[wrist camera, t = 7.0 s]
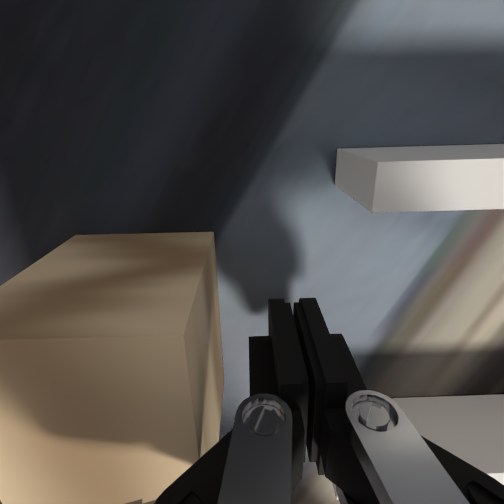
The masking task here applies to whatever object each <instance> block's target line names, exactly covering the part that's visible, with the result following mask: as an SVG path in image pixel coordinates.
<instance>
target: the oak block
mask: <svg viewBox="0 0 504 504" xmlns="http://www.w3.org/2000/svg"><path fill="white" fill-rule="evenodd" d="M223 386H224V372H223V357H222V343H221V329H220V314H219V300H218V286H217V272H216V257H215V243H214V232H180V233H138V234H96V235H75V236H73V237H72V238H70V239H69V240H67V241H66V242H64V243H63V244H61V245H60V246H59V247H57V248H56V249H54V250H53V251H51V252H50V253H48V254H47V255H45V256H44V257H42V258H41V259H39V260H38V261H36V262H35V263H34V264H32V265H31V266H29V267H28V268H26V269H25V270H23V271H22V272H20V273H19V274H17V275H16V276H14V277H13V278H11V279H10V280H9V281H7V282H6V283H4V284H3V285H1V286H0V500H1V502H2V504H126V503H129V502H133V501H136V500H140V499H143V503H146V502H150V501H153V500H157V498H158V497H159V496H160V495H161V493H162V492H163V491H164V490H165V489H166V488H167V487H168V486H169V485H171V484H172V483H173V482H174V481H175V480H176V479H177V478H178V477H179V476H181V475H182V474H183V473H184V472H185V471H186V470H187V469H188V468H190V467H191V466H192V465H193V464H194V463H195V462H196V461H197V460H198V459H200V458H201V457H202V456H203V455H204V454H205V453H206V452H207V451H208V450H210V449H211V448H212V447H213V446H214V445H215V444H216V443H217V442H219V432H220V421H221V409H222V398H223Z"/></svg>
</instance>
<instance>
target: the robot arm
mask: <svg viewBox="0 0 504 504" xmlns="http://www.w3.org/2000/svg"><path fill="white" fill-rule="evenodd" d="M268 322H269V336H253V337H249V371H250V397H248V398H247V399H245V400H244V401H243V402H242V403H241V404H240V405H239V407H238V410H237V412H236V416H235V421H234V426H233V429H232V430H231V431H230V432H229V433H227V434H226V435H225V436H224V437H223V438H222V439H221V440H220V441H219V442H217V443H216V444H215V445H214V446H213V447H212V448H211V449H210V450H208V451H207V452H206V453H205V454H204V455H203V456H202V457H201V458H200V459H198V460H197V461H196V462H195V463H194V464H193V465H192V466H191V467H190V468H188V469H187V470H186V471H185V472H184V473H183V474H182V475H181V476H179V477H178V478H177V479H176V480H175V481H174V482H173V483H172V484H171V485H169V486H168V487H167V488H166V489H165V490H164V491H163V492H162V493H161V495H160V496H159V497H158V498H157V500H153V501H150V502H146V503H143V499H140V500H136V501H133V502H129V503H126V504H291V491H292V490H293V489H294V487H295V486H296V485H297V483H298V482H299V481H300V480H301V478H302V471H303V462H305V452H306V446H307V451H308V457H309V461H310V462H316V465H317V469H318V474H319V475H325V477H326V478H328V479H329V480H330V481H331V482H333V483H334V484H335V485H336V491H337V496H338V499H339V501H340V504H504V485H503V484H501V483H500V482H499V481H497V480H496V479H494V478H493V477H491V476H489V475H488V474H486V473H484V472H483V471H481V470H479V469H477V468H476V467H474V466H472V465H471V464H469V463H467V462H465V461H464V460H462V459H460V458H459V457H457V456H455V455H453V454H452V453H450V452H448V451H447V450H445V449H443V448H442V447H440V446H438V445H436V444H435V443H433V442H431V441H430V440H428V439H426V438H424V437H423V436H421V435H420V434H419V433H418V431H417V430H416V429H415V427H414V426H413V424H412V423H411V422H410V420H409V419H408V417H407V416H406V415H405V413H404V412H403V411H402V409H401V408H400V407H399V406H398V404H397V403H396V402H395V401H394V400H392V399H391V398H389V397H388V396H386V395H384V394H382V393H379V392H376V391H371V390H367V389H366V386H365V384H364V382H363V380H362V377H361V375H360V373H359V371H358V368H357V366H356V364H355V362H354V360H353V357H352V355H351V353H350V351H349V348H348V346H347V344H346V342H345V339H344V337H343V336H342V334H329V331H328V328H327V326H326V323H325V321H324V318H323V316H322V313H321V311H320V308H319V305H318V303H317V300H316V298H300V299H299V302H294V309H293V313H292V309H291V305H290V303H285V302H284V299H269V301H268Z"/></svg>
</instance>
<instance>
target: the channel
mask: <svg viewBox="0 0 504 504" xmlns="http://www.w3.org/2000/svg"><path fill="white" fill-rule="evenodd" d="M335 186H337V187H338V188H339V189H341V190H342V191H343V192H345V193H346V194H347V195H349V196H350V197H351V198H353V199H354V200H355V201H357V202H358V203H359V204H361V205H362V206H363V207H365V208H366V209H367V210H369V211H370V212H371V213H380V212H413V211H446V210H480V209H504V144H482V145H447V146H411V147H376V148H341V149H337V161H336V174H335ZM391 399H392V400H394V401H395V402H396V403H397V404H398V406H399V407H400V408H401V409H402V411H403V412H404V413H405V415H406V416H407V417H408V419H409V420H410V422H411V423H412V424H413V426H414V427H415V429H416V430H417V431H418V433H419V434H420V435H421V436H423V437H424V438H426V439H428V440H430V441H431V442H433V443H435V444H436V445H438V446H440V447H442V448H443V449H445V450H447V451H448V452H450V453H452V454H453V455H455V456H457V457H459V458H460V459H462V460H464V461H465V462H467V463H469V464H471V465H472V466H474V467H476V468H477V469H479V470H481V471H483V472H484V473H486V474H488V475H489V476H491V477H493V478H494V479H496V480H497V481H499V482H500V483H501V484H503V485H504V394H498V395H469V396H441V397H412V398H391ZM332 483H333V482H332ZM333 487H334V491H335V495H336V499H337V500H339V499H338V496H337V491H336V485H335V484H334V483H333Z"/></svg>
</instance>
